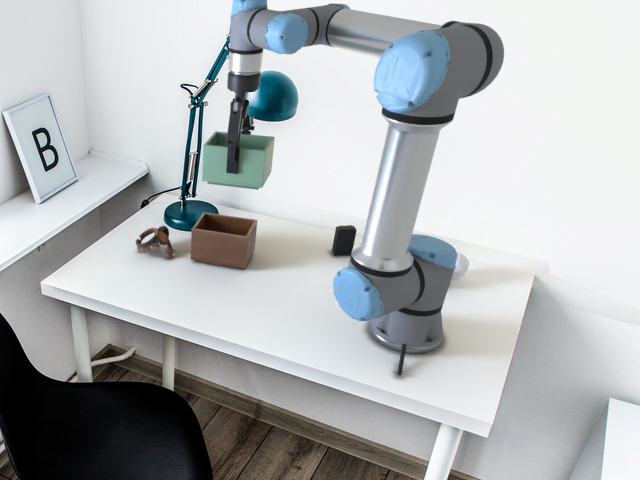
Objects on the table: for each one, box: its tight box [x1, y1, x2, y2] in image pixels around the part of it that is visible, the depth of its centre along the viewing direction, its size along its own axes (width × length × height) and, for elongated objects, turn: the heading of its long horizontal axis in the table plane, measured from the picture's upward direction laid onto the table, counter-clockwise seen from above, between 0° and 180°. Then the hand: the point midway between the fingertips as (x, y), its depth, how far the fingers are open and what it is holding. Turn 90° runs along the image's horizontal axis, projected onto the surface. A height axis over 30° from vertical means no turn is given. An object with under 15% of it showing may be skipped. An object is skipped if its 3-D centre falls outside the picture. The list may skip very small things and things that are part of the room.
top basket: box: [201, 130, 276, 191], centre depth 161 cm, size 11×15×10 cm
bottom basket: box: [190, 211, 258, 270], centre depth 175 cm, size 11×15×10 cm
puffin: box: [451, 251, 470, 280], centre depth 164 cm, size 7×7×12 cm
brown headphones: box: [135, 225, 174, 259], centre depth 180 cm, size 12×10×8 cm
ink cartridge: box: [331, 224, 357, 257], centre depth 176 cm, size 5×2×8 cm, turn 93°
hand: (237, 164), depth 161 cm, fingers closed on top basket, 11 cm apart
